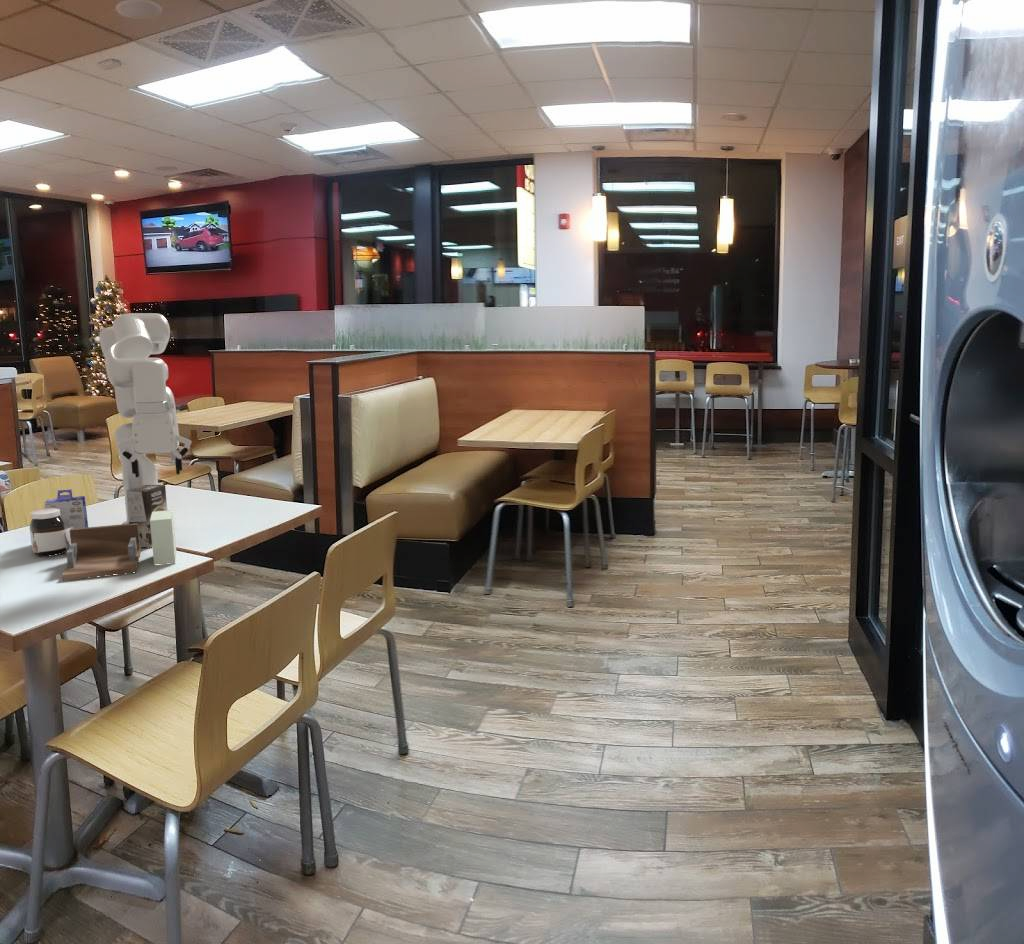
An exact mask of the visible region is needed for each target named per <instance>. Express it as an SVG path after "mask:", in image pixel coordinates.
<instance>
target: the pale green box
mask: <svg viewBox="0 0 1024 944" xmlns="http://www.w3.org/2000/svg"><path fill="white" fill-rule="evenodd" d="M174 520H175V519H174V511H173V509H169V510H168V509H167V511H156V512H152V515H151V519H150V526H151V537H152V548H151V549H152V556H153V566H154V565H155V564H167V563H175V564H176V562H175V561H177V560H176V559H177V554H176V553H177V544H176V533H175V532H176V531H175V522H174Z"/></svg>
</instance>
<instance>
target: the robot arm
mask: <svg viewBox="0 0 1024 944" xmlns="http://www.w3.org/2000/svg"><path fill="white" fill-rule="evenodd" d="M170 338H171V327H170V324H169V322H168V320H167V318H166V317H165V316H164V315H163V314H161V313H152V312H149V313H148V312H147V313H146V312H145V313H143V312H141V313H139V312H135V313H134V312H131V313H123V314H120V315H118V316H116V318H115V319H114V320H113V322H112V326H107V327H104V328H103V329H101V330H100V332H99V345H100V348H101V351H102V354H103V357H104V365H105V370H106V375H107V379H108V381H109V383H110V384H111V385H112V386H113V388H114V394H115V395H114V396H115V402H116V407H117V411H118V413H119V415H120V416H121V417H122V418H125V419H132V422H128V423H124V424H121V425H119V426H118V427H117V428H116V429H115V432H114V434H115V435H114V439H115V443H116V447H117V452H118V455H119V460H120V467H121V475H122V486H123V494H124V504H125V505H124V506H125V513H126V514H125V515H126V521H123V522H122V523H121V525H122V524H129V517H128V505H127V494H126V491H127V490H131V489H134V488H137V487H141V486H144V485H159V483H158V482H159V481H158V471H157V466H156V464H154V462H153V461H152V460H151V459H149V458H148V456H147V455H149V454H167V453H171V454H172V455H174V456H175V459H174V462H175V463H174V464H175V472H176V475H180V474H181V471H183V464H182V462H183V461H182V458H183V457H184V456H186V453H188V452H189V449H190V447H191V445H192V442H193V441H192V440H190V439H188V438H186V437H183V436H180V434H179V433H180V431H179V423H178V418H177V417H178V416H177V410H176V409H177V408H176V403H175V402H176V401H175V397H174V393H173V392H172V390H171V388H170V387H168V386H167V384H166V382H167V380H168V379H169V366H168V365H167V363H166V362H165V361H164V360H163V359H161V358H159V357H150V356H151V355H160V354H162V353H164V352H165V350H166V349H167V346H168V343H169V341H170ZM180 443H182V444H184V446H183V448H182V449H181V450H180V451H179V449H178V448H179V446H180Z"/></svg>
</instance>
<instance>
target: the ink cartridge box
mask: <svg viewBox="0 0 1024 944" xmlns="http://www.w3.org/2000/svg"><path fill="white" fill-rule="evenodd" d="M63 493H67V494H63ZM56 497H57V498H49V499H47V500H46V501H45V502H44V509H47V508H57V509H60V517H61V518H62V520H63V522H64V525H65V530H66V529H68V528H70V527H73V528H74V529H75V528H87V527H89V522H88V514H87V513H88V512H87V510H88V509H87V502H86V497H85V495H81V496H73V489H62V490H61V489H60V490H57V496H56ZM66 539H67V537H66ZM67 543H69V542H68V540H67Z"/></svg>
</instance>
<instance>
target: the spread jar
mask: <svg viewBox="0 0 1024 944" xmlns="http://www.w3.org/2000/svg"><path fill="white" fill-rule="evenodd" d="M30 518H31V520H30V522H29V534H30V540H31V541H30V542H31V548H32V551H33V553H34V555H35V556H36V555H38V556H37V557H42V556H45V557H50V556H49V555H54V556H56V555H55V554H58V555H60V554H59V553H61V554H63V553H65V552H67V550H68V549H67V548H68V544H69V547H70V546H71V538H70V529H74V528H73V527H70V528H68V529H66V530H65V525H64V522H63V520H62V518H61V517H60V509H57V508H47V509H45V508H40V509H36V510H33V511H31V512H30ZM66 537H67V539H66ZM67 540H68V542H67ZM62 552H63V553H62Z"/></svg>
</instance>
